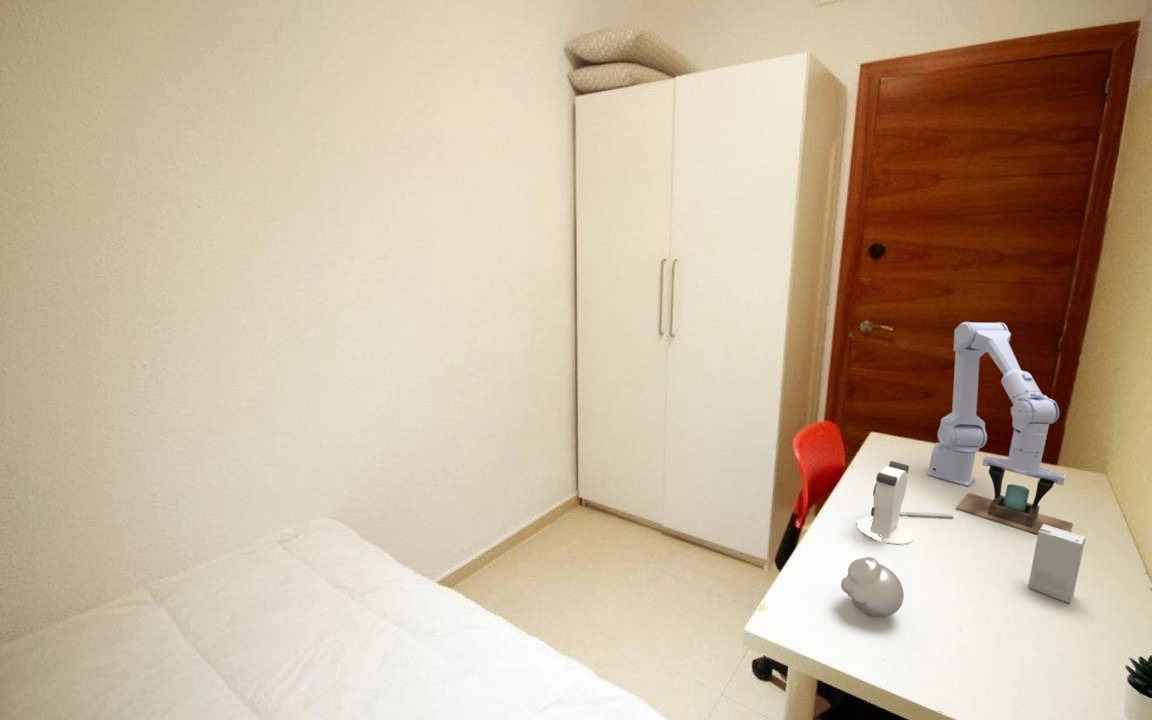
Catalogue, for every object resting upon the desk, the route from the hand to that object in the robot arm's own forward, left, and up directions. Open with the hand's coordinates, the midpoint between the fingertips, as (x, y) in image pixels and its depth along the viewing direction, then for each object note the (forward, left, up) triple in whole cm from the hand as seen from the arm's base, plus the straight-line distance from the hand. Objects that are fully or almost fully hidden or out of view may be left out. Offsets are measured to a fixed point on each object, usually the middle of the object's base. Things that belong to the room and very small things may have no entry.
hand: (1015, 502), depth 122 cm
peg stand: (0, 0, -4) cm, 4 cm away
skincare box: (+10, -30, -4) cm, 32 cm away
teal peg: (0, 0, -3) cm, 3 cm away
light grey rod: (-14, -16, -4) cm, 22 cm away
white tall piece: (-18, -30, -4) cm, 35 cm away
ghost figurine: (-10, -62, -4) cm, 63 cm away
